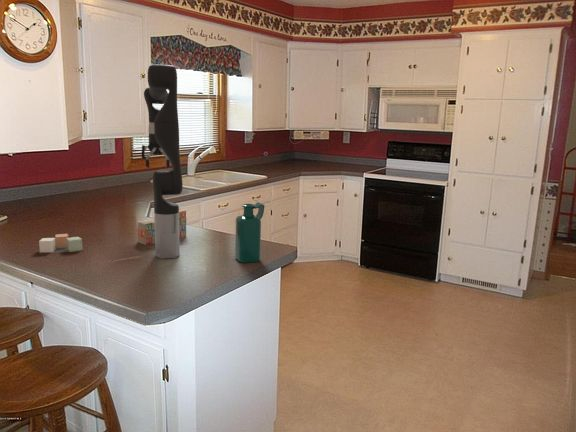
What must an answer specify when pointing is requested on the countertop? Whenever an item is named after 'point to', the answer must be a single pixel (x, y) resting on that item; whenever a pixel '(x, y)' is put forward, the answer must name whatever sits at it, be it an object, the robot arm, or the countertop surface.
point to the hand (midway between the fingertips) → (157, 167)
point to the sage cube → (74, 244)
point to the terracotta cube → (61, 240)
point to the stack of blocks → (148, 229)
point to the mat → (59, 250)
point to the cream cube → (47, 244)
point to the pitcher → (248, 234)
